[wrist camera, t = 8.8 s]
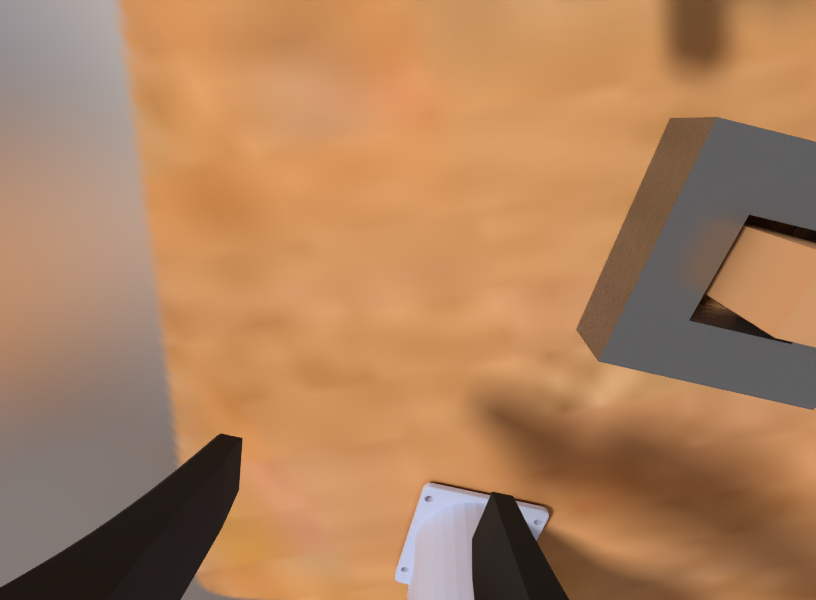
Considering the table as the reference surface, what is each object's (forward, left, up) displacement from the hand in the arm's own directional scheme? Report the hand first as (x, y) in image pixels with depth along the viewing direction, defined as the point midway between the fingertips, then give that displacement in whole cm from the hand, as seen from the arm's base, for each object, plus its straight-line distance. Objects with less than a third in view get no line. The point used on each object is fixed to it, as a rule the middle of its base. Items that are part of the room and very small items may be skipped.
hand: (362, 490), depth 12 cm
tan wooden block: (+7, -14, -10) cm, 19 cm away
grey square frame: (+7, -14, -10) cm, 19 cm away
